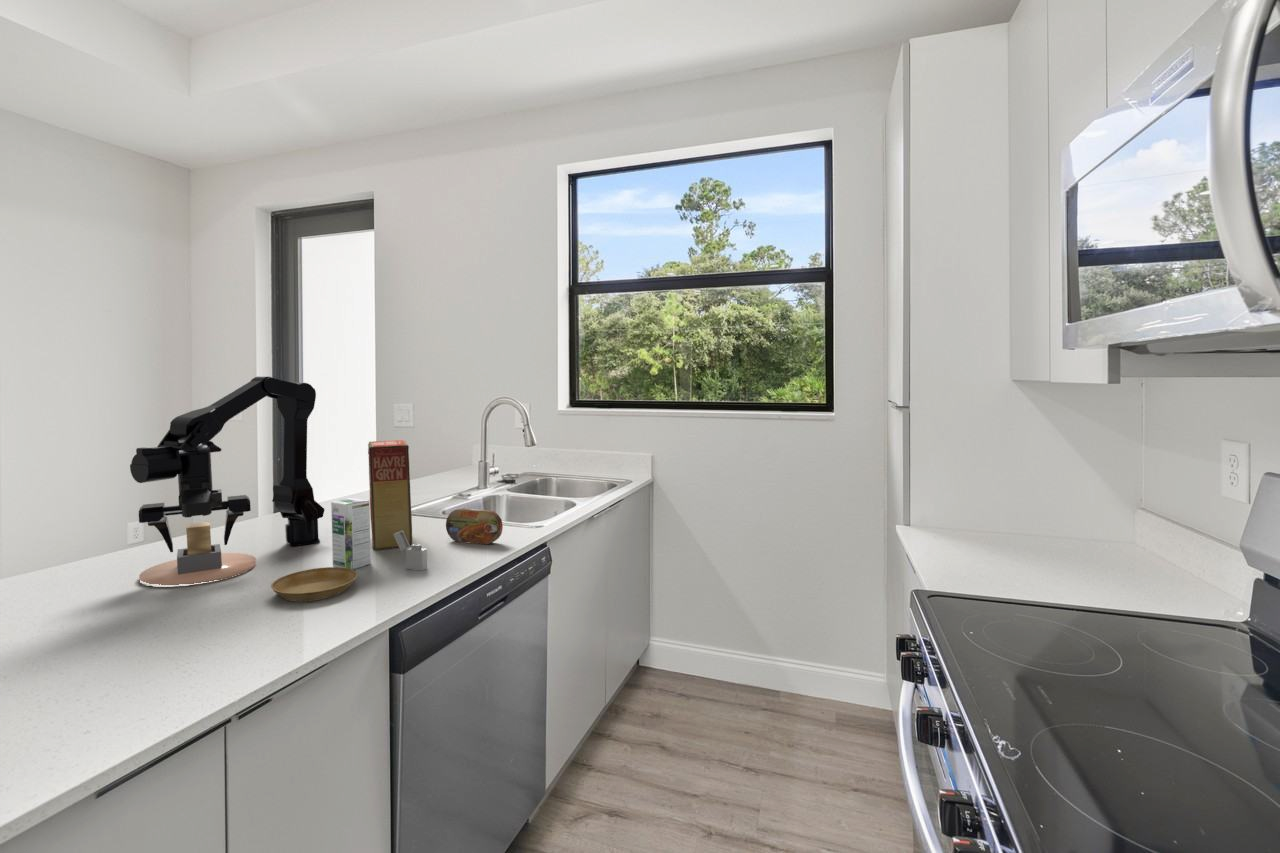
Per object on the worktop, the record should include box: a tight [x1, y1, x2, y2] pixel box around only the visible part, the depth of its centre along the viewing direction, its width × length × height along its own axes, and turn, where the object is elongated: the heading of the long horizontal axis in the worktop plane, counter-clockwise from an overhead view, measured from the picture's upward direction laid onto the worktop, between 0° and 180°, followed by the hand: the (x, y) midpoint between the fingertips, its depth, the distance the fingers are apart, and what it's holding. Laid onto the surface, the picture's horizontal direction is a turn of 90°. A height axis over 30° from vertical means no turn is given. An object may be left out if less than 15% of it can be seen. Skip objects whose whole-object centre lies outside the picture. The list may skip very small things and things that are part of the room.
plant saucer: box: [270, 566, 358, 602], centre depth 118 cm, size 15×15×3 cm
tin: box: [445, 508, 504, 545], centre depth 153 cm, size 15×3×8 cm, turn 73°
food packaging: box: [367, 439, 413, 551], centre depth 152 cm, size 13×9×25 cm
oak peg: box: [185, 521, 212, 555], centre depth 129 cm, size 4×4×9 cm
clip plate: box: [138, 543, 257, 585], centre depth 129 cm, size 20×20×4 cm
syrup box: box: [330, 497, 372, 570], centre depth 133 cm, size 6×6×14 cm
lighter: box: [394, 530, 428, 571], centre depth 132 cm, size 7×2×8 cm, turn 76°
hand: (199, 548), depth 129 cm, fingers open, 9 cm apart
